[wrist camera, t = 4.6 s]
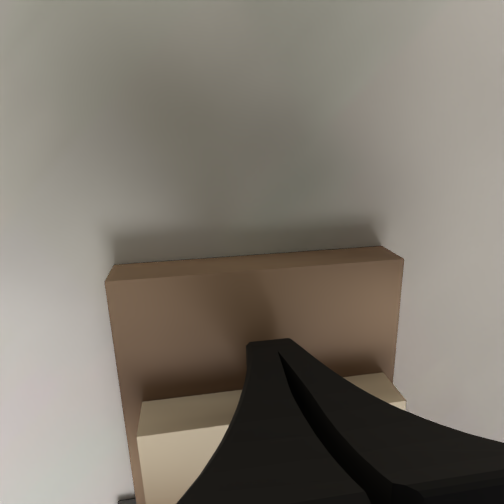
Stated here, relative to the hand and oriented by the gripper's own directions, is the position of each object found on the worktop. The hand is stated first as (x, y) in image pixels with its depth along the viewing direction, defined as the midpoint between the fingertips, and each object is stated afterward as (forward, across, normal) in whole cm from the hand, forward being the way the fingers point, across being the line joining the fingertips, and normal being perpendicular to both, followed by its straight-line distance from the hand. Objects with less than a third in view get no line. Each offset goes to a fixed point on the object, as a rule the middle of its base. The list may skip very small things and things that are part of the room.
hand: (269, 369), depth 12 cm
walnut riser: (+2, 0, +2) cm, 3 cm away
